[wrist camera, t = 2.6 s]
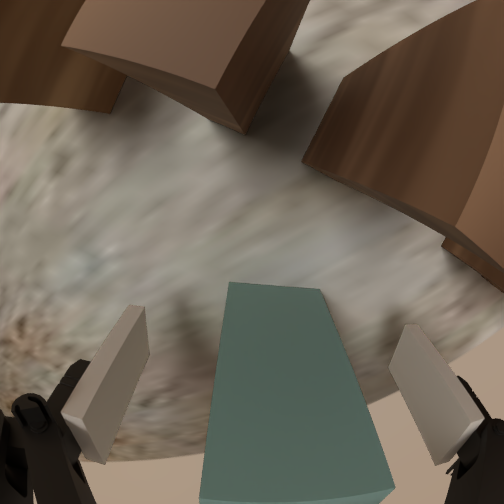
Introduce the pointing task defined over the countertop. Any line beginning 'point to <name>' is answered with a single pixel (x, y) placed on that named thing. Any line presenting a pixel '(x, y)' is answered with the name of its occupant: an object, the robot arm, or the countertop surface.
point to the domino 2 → (288, 408)
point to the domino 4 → (475, 262)
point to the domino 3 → (428, 129)
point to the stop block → (50, 59)
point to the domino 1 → (193, 48)
